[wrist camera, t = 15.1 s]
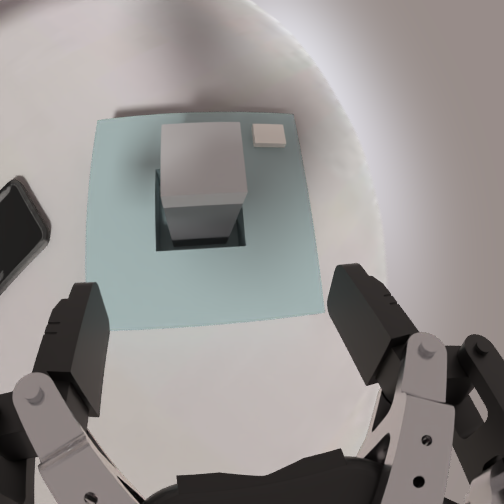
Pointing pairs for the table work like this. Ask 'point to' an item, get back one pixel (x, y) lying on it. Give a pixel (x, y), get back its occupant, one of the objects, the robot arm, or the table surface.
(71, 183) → the table surface
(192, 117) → the socket
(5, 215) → the phone
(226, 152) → the plug
